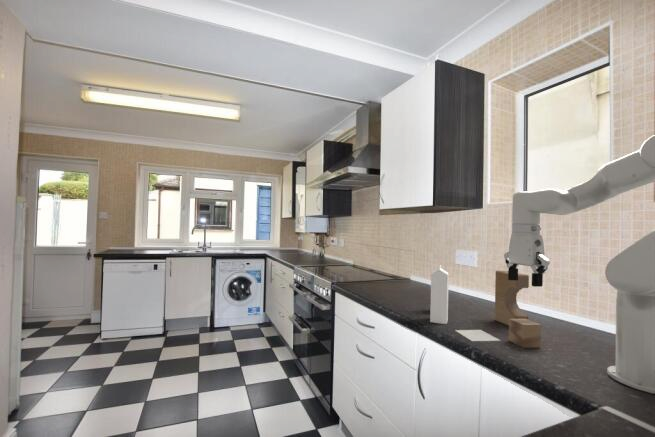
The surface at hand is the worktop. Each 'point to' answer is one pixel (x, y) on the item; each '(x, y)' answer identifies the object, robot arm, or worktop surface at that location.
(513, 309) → the decorative block
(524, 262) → the robot arm
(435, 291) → the milk
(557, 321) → the worktop surface
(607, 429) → the worktop surface
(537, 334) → the walnut block
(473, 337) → the grey mat
